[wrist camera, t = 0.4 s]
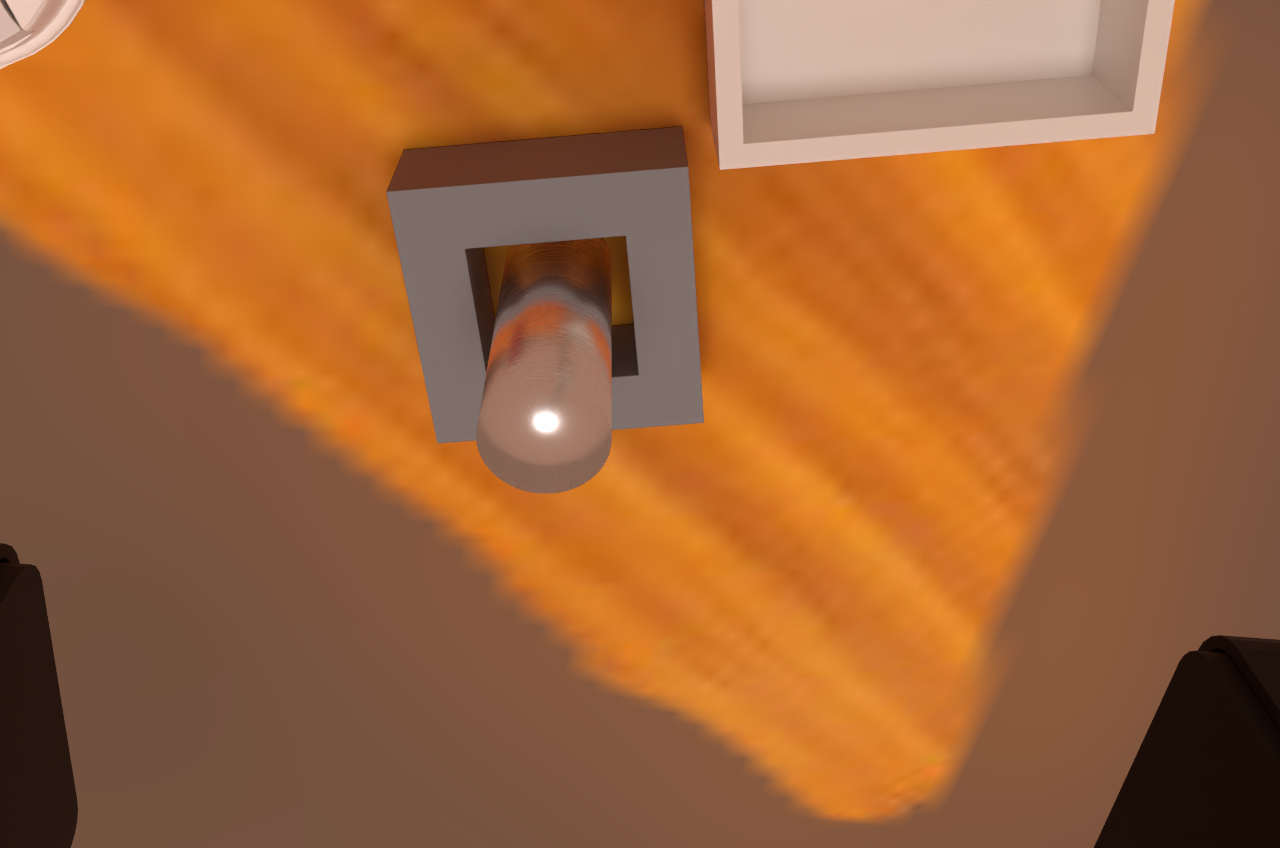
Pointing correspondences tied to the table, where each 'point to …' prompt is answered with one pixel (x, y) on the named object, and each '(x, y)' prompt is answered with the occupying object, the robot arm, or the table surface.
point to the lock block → (546, 212)
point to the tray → (927, 75)
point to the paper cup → (32, 25)
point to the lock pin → (550, 367)
